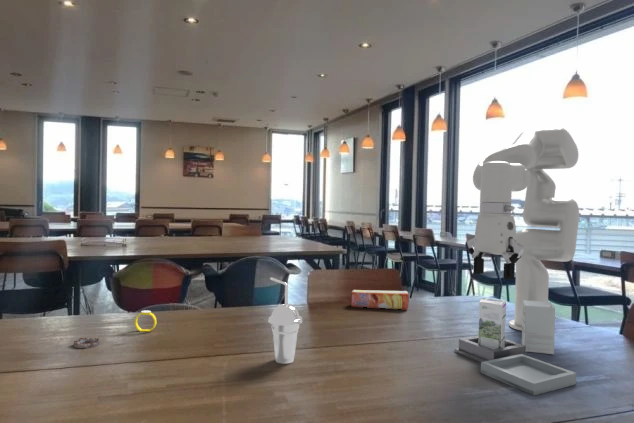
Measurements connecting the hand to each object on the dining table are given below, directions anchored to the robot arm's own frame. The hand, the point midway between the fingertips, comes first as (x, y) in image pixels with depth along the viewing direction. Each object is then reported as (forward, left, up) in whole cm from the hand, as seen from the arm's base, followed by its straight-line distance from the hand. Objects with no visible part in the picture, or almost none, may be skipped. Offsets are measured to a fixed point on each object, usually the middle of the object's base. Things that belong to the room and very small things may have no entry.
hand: (493, 276), depth 119 cm
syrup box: (0, 0, -21) cm, 21 cm away
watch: (+77, -60, -21) cm, 99 cm away
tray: (+5, +14, -21) cm, 26 cm away
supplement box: (-16, +1, -21) cm, 27 cm away
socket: (0, 0, -21) cm, 21 cm away
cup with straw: (+50, -20, -21) cm, 57 cm away
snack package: (-5, -57, -21) cm, 61 cm away
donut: (+93, -52, -22) cm, 109 cm away
